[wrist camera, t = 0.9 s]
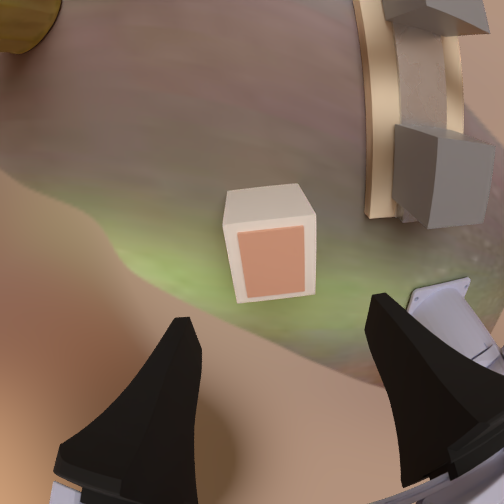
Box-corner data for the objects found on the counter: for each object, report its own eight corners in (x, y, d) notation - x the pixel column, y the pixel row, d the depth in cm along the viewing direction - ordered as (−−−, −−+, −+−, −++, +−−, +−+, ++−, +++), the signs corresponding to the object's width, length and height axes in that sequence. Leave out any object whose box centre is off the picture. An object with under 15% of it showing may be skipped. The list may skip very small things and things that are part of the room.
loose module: (300, 249, 20) (315, 296, 15) (238, 256, 20) (237, 305, 16) (297, 183, 17) (317, 216, 13) (227, 190, 17) (222, 226, 13)
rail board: (447, 206, 18) (490, 241, 13) (364, 212, 18) (401, 255, 13) (434, -25, 8) (480, -40, 3) (339, -52, 8) (370, -89, 3)
